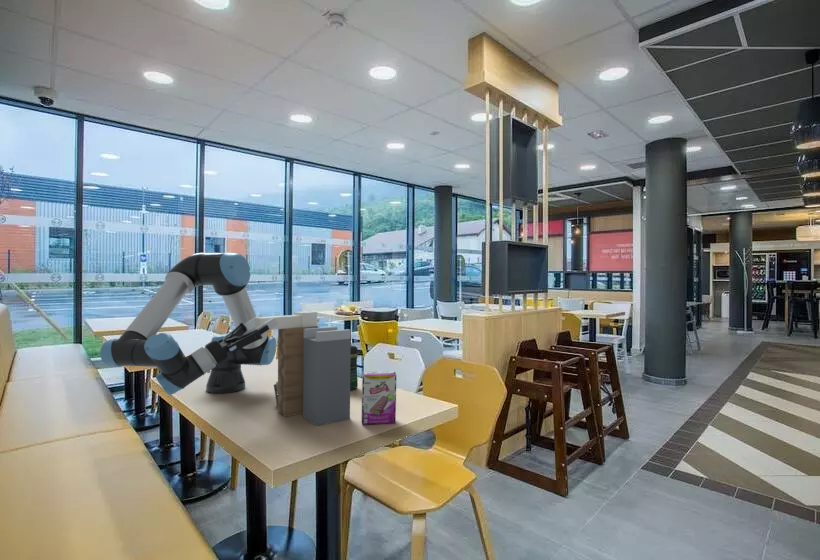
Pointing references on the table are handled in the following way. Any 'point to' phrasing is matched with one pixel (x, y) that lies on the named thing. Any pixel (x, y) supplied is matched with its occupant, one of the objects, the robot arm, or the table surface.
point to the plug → (291, 320)
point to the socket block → (326, 375)
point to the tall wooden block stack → (290, 370)
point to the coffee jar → (353, 367)
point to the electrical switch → (276, 391)
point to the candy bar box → (378, 397)
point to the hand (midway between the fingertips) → (269, 318)
